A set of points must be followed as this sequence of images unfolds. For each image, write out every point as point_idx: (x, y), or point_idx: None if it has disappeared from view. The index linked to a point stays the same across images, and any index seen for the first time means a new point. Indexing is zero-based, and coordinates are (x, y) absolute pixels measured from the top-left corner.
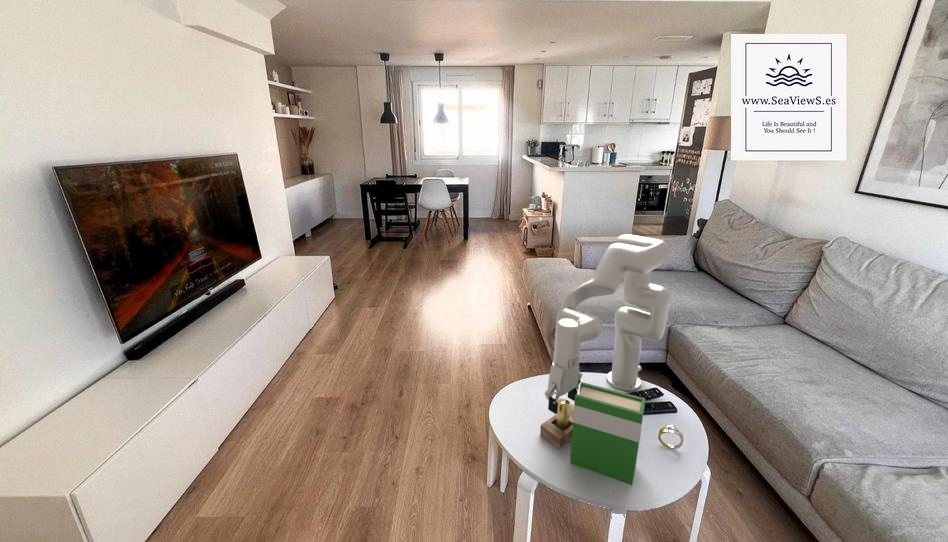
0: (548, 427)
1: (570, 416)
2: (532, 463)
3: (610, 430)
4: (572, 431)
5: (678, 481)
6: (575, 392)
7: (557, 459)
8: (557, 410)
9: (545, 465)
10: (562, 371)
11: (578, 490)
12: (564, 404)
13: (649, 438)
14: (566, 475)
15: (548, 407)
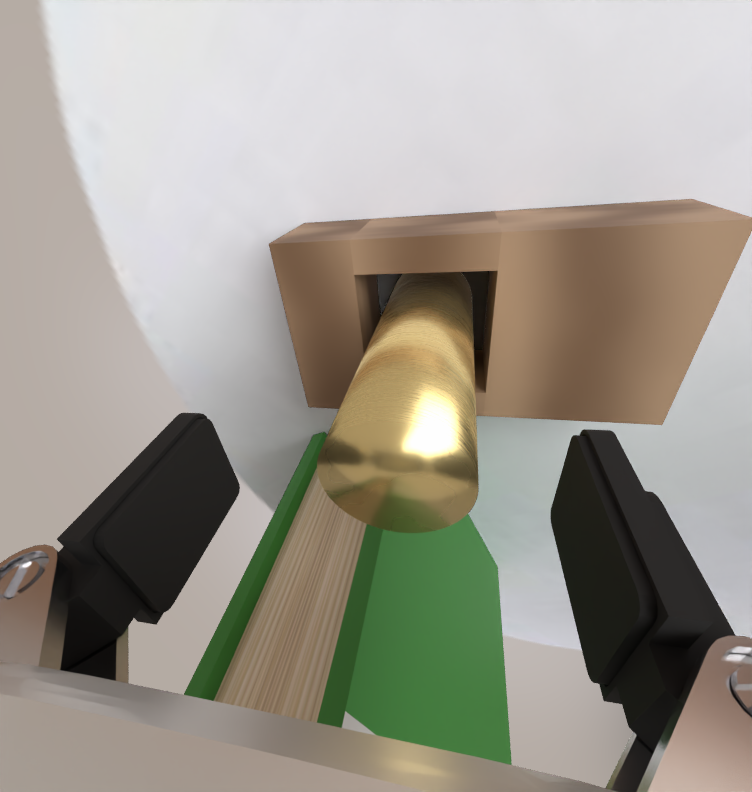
0: (306, 301)
1: (542, 333)
2: (167, 340)
3: None
4: (227, 609)
5: (531, 632)
6: (586, 665)
7: (281, 395)
8: (346, 393)
9: (216, 381)
10: None
11: (264, 496)
12: (377, 500)
13: (707, 570)
14: (265, 452)
15: (169, 428)
